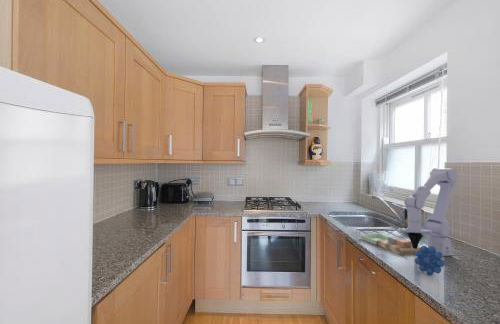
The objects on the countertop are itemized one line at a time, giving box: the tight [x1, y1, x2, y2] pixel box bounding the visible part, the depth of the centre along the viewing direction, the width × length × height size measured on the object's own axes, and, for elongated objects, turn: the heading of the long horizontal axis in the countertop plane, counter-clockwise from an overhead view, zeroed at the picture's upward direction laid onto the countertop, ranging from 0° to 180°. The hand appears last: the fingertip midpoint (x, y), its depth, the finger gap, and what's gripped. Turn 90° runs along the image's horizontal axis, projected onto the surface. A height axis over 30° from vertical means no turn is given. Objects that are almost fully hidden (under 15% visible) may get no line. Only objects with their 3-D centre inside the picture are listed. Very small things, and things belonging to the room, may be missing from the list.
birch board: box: [377, 239, 422, 256], centre depth 133 cm, size 16×12×3 cm
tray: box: [359, 233, 389, 246], centre depth 148 cm, size 13×14×2 cm
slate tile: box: [388, 235, 403, 244], centre depth 135 cm, size 5×5×2 cm
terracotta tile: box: [396, 238, 412, 247], centre depth 130 cm, size 5×5×2 cm
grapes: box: [414, 245, 446, 276], centre depth 102 cm, size 12×7×12 cm, turn 20°
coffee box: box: [404, 207, 425, 236], centre depth 166 cm, size 9×6×16 cm
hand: (414, 248), depth 124 cm, fingers closed
